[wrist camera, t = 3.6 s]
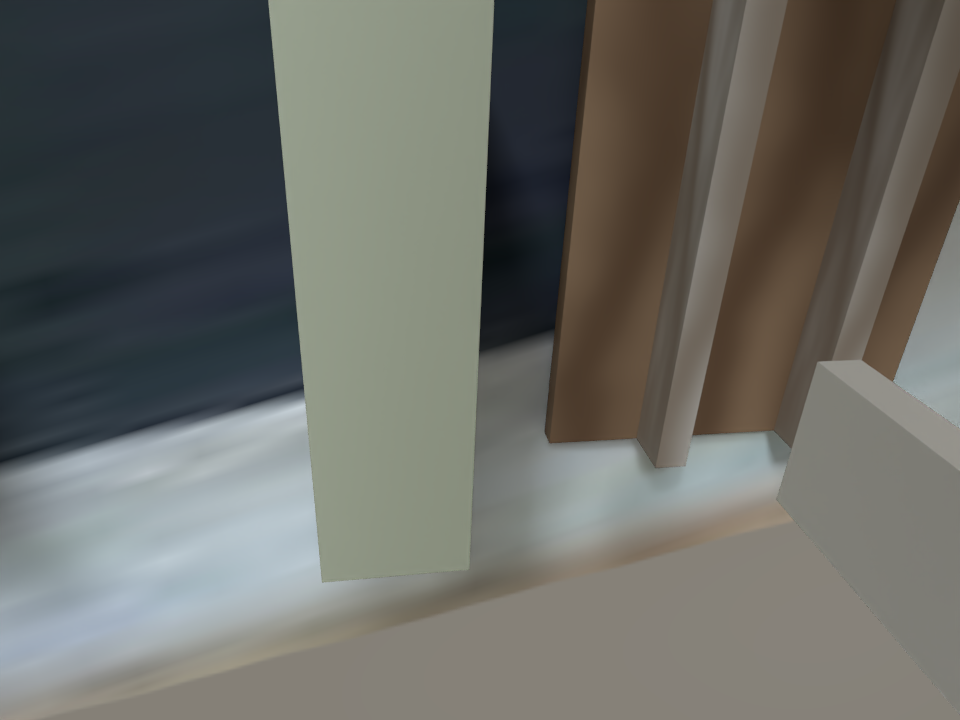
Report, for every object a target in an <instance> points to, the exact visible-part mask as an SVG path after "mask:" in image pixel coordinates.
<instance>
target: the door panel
mask: <svg viewBox="0 0 960 720" xmlns="http://www.w3.org/2000/svg"><path fill="white" fill-rule="evenodd" d="M268 1H269V12H270V23H271V34H272V45H273V56H274V66H275V77H276V88H277V99H278V110H279V121H280V132H281V142H282V153H283V164H284V175H285V186H286V197H287V208H288V218H289V229H290V240H291V251H292V262H293V273H294V284H295V294H296V305H297V316H298V327H299V338H300V349H301V359H302V370H303V381H304V392H305V403H306V414H307V425H308V435H309V446H310V457H311V468H312V479H313V490H314V501H315V511H316V522H317V533H318V544H319V555H320V566H321V576H322V582H333V581H345V580H357V579H368V578H380V577H391V576H403V575H415V574H426V573H438V572H449V571H461V570H469V566H470V543H471V520H472V497H473V474H474V451H475V428H476V405H477V382H478V359H479V336H480V313H481V290H482V267H483V244H484V221H485V199H486V176H487V153H488V130H489V107H490V84H491V61H492V38H493V15H494V0H268Z"/></svg>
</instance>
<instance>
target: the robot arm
mask: <svg viewBox="0 0 960 720" xmlns="http://www.w3.org/2000/svg"><path fill="white" fill-rule="evenodd" d="M777 501H778V502H779V503H780V504H781V506H782V507H783V508H784V509H785V510H786V511H787V513H788V514H789V515H790V516H791V517H792V518H793V520H794V521H795V522H796V523H797V524H798V526H799V527H800V528H801V529H802V530H803V531H804V533H805V534H806V535H807V536H808V537H809V538H810V540H811V541H812V542H813V543H814V544H815V546H816V547H817V548H818V549H819V550H820V551H821V553H822V554H823V555H824V556H825V557H826V558H827V560H828V561H829V562H830V563H831V564H832V566H833V567H834V568H835V569H836V570H837V571H838V573H839V574H840V575H841V576H842V577H843V578H844V580H845V581H846V582H847V583H848V584H849V585H850V587H851V588H852V589H853V590H854V591H855V593H856V594H857V595H858V596H859V597H860V598H861V600H862V601H863V602H864V603H865V604H866V605H867V607H868V608H869V609H870V610H871V611H872V613H873V614H874V615H875V616H876V617H877V618H878V620H879V621H880V622H881V623H882V624H883V625H884V626H885V628H886V629H887V630H888V631H889V633H890V634H891V635H892V636H893V637H894V638H895V640H896V641H897V642H898V643H899V644H900V645H901V647H902V648H903V649H904V650H905V651H906V653H907V654H908V655H909V656H910V657H911V658H912V660H913V661H914V662H915V663H916V664H917V665H918V667H919V668H920V669H921V670H922V671H923V673H924V674H925V675H926V676H927V677H928V678H929V680H930V681H931V682H932V683H933V684H934V685H935V687H936V688H937V689H938V690H939V691H940V692H941V694H942V695H943V696H944V697H945V698H946V699H947V701H948V702H949V703H950V704H951V705H952V706H953V708H954V709H955V710H956V711H957V713H958V714H959V715H960V429H959V428H958V427H956V426H955V425H953V424H952V423H951V422H949V421H948V420H946V419H945V418H943V417H942V416H941V415H939V414H938V413H936V412H935V411H933V410H932V409H931V408H929V407H928V406H926V405H925V404H923V403H922V402H921V401H919V400H918V399H916V398H915V397H913V396H912V395H910V394H909V393H908V392H906V391H905V390H903V389H902V388H900V387H899V386H898V385H896V384H895V383H893V382H892V381H890V380H889V379H888V378H886V377H885V376H883V375H882V374H880V373H879V372H878V371H876V370H875V369H873V368H872V367H870V366H869V365H868V364H866V363H865V362H863V361H862V360H844V361H819V362H817V365H816V368H815V372H814V375H813V379H812V382H811V385H810V389H809V392H808V395H807V399H806V402H805V405H804V409H803V412H802V416H801V419H800V422H799V426H798V429H797V432H796V436H795V439H794V442H793V446H792V449H791V452H790V456H789V459H788V463H787V466H786V469H785V473H784V476H783V479H782V483H781V486H780V489H779V493H778V496H777Z"/></svg>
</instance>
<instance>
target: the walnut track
mask: <svg viewBox="0 0 960 720" xmlns="http://www.w3.org/2000/svg"><path fill="white" fill-rule="evenodd" d="M959 200H960V0H588V2H587V12H586V22H585V32H584V42H583V52H582V62H581V72H580V82H579V92H578V102H577V112H576V122H575V132H574V143H573V153H572V163H571V173H570V183H569V193H568V203H567V213H566V223H565V233H564V243H563V253H562V263H561V273H560V283H559V293H558V303H557V313H556V323H555V333H554V343H553V353H552V363H551V373H550V383H549V393H548V403H547V413H546V423H545V434H546V436H547V439H548V441H549V443H562V442H579V441H597V440H614V439H632V438H637V440H638V441H639V443H640V445H641V446H642V448H643V449H644V451H645V452H646V454H647V456H648V457H649V459H650V460H651V462H652V463H653V465H654V467H655V468H664V467H680V466H686V461H687V457H688V452H689V448H690V443H691V438H692V435H701V434H719V433H736V432H753V431H771V430H774V431H775V432H776V433H777V434H778V435H779V436H780V437H781V438H782V439H783V440H784V441H785V443H786V444H787V445H788V446H789V447H790V448H791V449H792V446H793V442H794V439H795V436H796V432H797V429H798V426H799V422H800V419H801V416H802V412H803V409H804V405H805V402H806V399H807V395H808V392H809V389H810V385H811V382H812V379H813V375H814V372H815V368H816V365H817V362H819V361H844V360H862V361H863V362H865V363H866V364H868V365H869V366H870V367H872V368H873V369H875V370H876V371H878V372H879V373H880V374H882V375H883V376H885V377H886V378H888V379H889V380H890V381H892V382H893V380H894V377H895V374H896V372H897V369H898V366H899V363H900V361H901V358H902V355H903V352H904V350H905V347H906V344H907V342H908V339H909V336H910V333H911V331H912V328H913V325H914V323H915V320H916V317H917V314H918V312H919V309H920V306H921V303H922V301H923V298H924V295H925V293H926V290H927V287H928V284H929V282H930V279H931V276H932V273H933V271H934V268H935V265H936V263H937V260H938V257H939V254H940V252H941V249H942V246H943V244H944V241H945V238H946V235H947V233H948V230H949V227H950V224H951V222H952V219H953V216H954V214H955V211H956V208H957V205H958V203H959Z"/></svg>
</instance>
